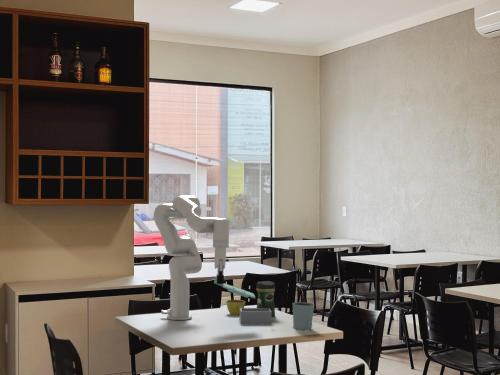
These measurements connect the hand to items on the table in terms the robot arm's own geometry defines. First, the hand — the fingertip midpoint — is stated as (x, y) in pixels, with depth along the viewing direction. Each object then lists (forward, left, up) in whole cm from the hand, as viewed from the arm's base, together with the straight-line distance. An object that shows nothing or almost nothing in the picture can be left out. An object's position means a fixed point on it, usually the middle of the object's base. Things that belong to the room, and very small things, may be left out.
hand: (220, 283), depth 330 cm
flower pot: (+9, +36, -21) cm, 43 cm away
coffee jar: (+24, +29, -21) cm, 43 cm away
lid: (+6, 0, -4) cm, 7 cm away
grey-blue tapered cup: (+39, -2, -21) cm, 45 cm away
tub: (+18, +13, -21) cm, 30 cm away
